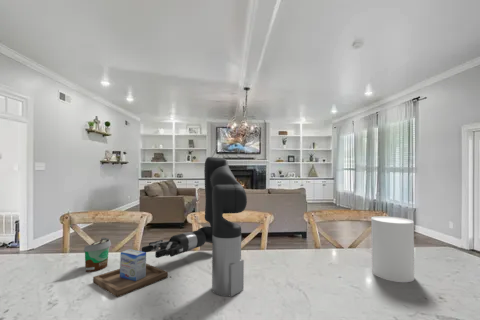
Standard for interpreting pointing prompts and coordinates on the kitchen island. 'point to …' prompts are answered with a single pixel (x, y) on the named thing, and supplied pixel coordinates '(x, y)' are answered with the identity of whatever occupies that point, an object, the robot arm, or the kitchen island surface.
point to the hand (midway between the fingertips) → (148, 252)
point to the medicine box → (132, 265)
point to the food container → (97, 255)
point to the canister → (393, 248)
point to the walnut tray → (128, 281)
